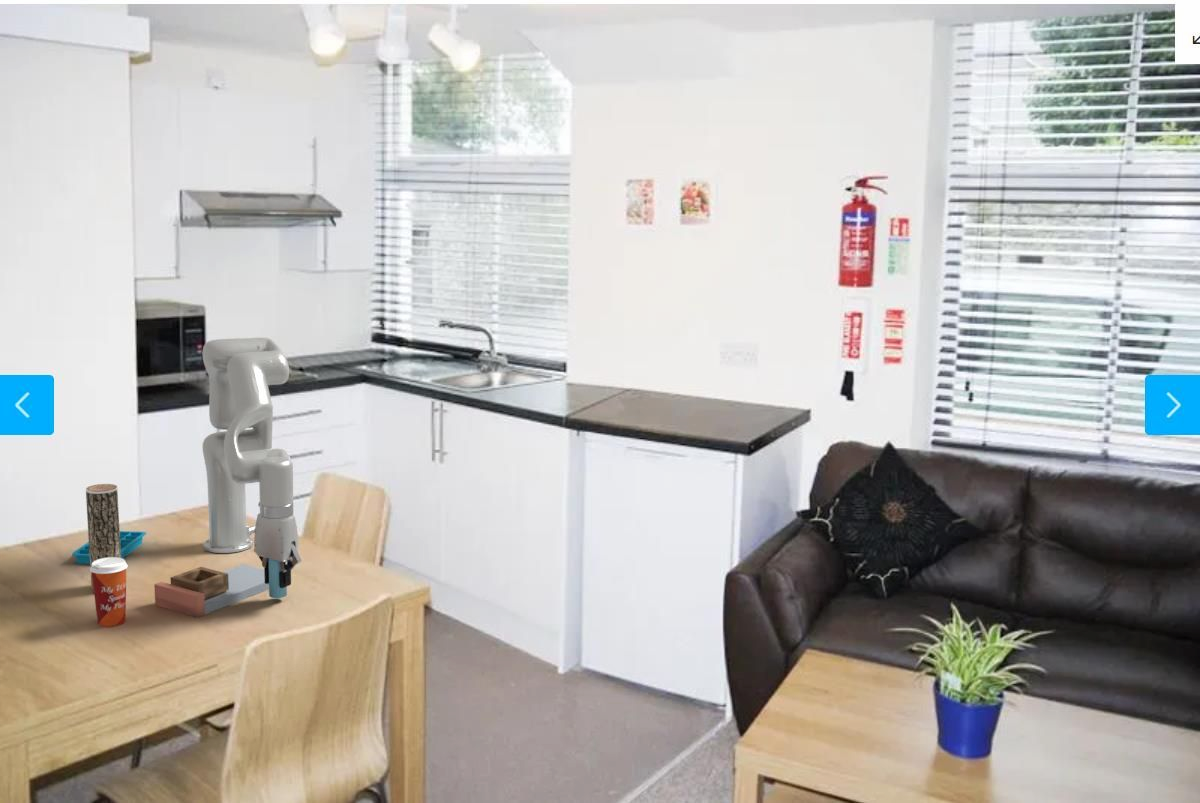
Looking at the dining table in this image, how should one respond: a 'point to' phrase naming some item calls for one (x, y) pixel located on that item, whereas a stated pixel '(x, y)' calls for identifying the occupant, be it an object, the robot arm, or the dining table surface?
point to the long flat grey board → (193, 603)
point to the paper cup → (110, 590)
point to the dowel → (275, 580)
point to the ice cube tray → (127, 545)
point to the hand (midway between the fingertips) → (277, 583)
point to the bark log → (103, 522)
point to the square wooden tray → (202, 581)
